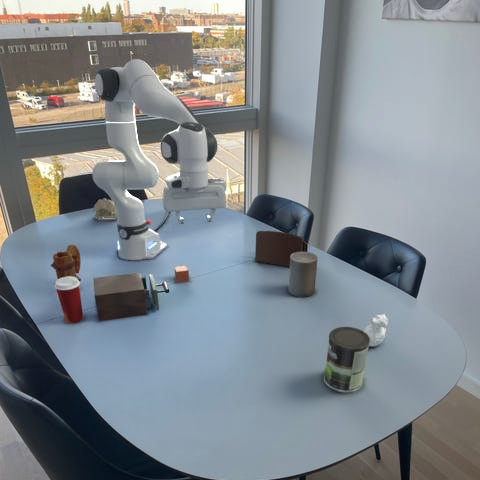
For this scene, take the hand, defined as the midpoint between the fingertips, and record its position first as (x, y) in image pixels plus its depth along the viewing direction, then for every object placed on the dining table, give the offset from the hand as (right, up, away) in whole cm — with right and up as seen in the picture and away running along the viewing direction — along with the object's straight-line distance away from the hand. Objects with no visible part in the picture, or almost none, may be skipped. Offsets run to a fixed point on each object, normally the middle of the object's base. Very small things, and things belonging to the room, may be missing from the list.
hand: (195, 222), depth 152 cm
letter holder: (+32, -7, +44) cm, 54 cm away
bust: (+55, -39, -10) cm, 68 cm away
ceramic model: (-55, +22, +92) cm, 109 cm away
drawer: (-19, -26, +9) cm, 34 cm away
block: (-8, -16, +28) cm, 33 cm away
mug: (-48, -20, +22) cm, 56 cm away
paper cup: (-40, -32, +2) cm, 51 cm away
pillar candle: (+37, -21, +20) cm, 47 cm away
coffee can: (+42, -48, -26) cm, 69 cm away
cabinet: (-26, -28, +8) cm, 39 cm away
